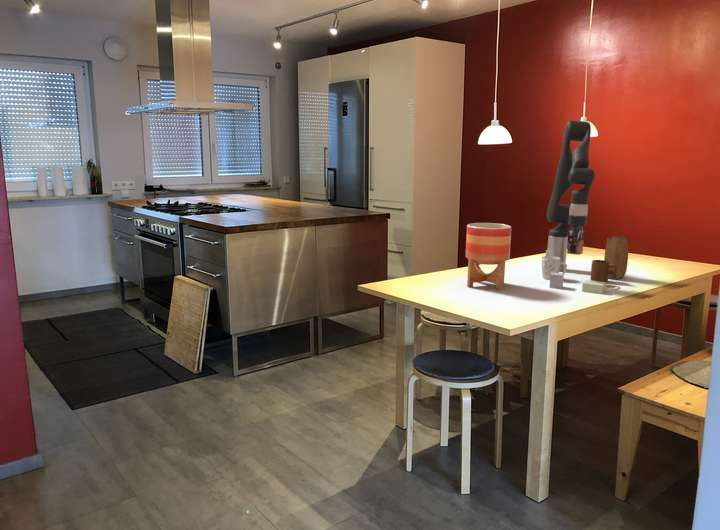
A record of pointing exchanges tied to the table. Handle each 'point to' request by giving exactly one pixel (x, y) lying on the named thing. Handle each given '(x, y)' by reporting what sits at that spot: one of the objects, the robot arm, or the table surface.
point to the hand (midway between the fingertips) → (574, 252)
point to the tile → (612, 287)
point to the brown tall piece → (617, 255)
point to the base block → (594, 286)
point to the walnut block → (577, 247)
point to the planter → (487, 251)
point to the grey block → (556, 280)
